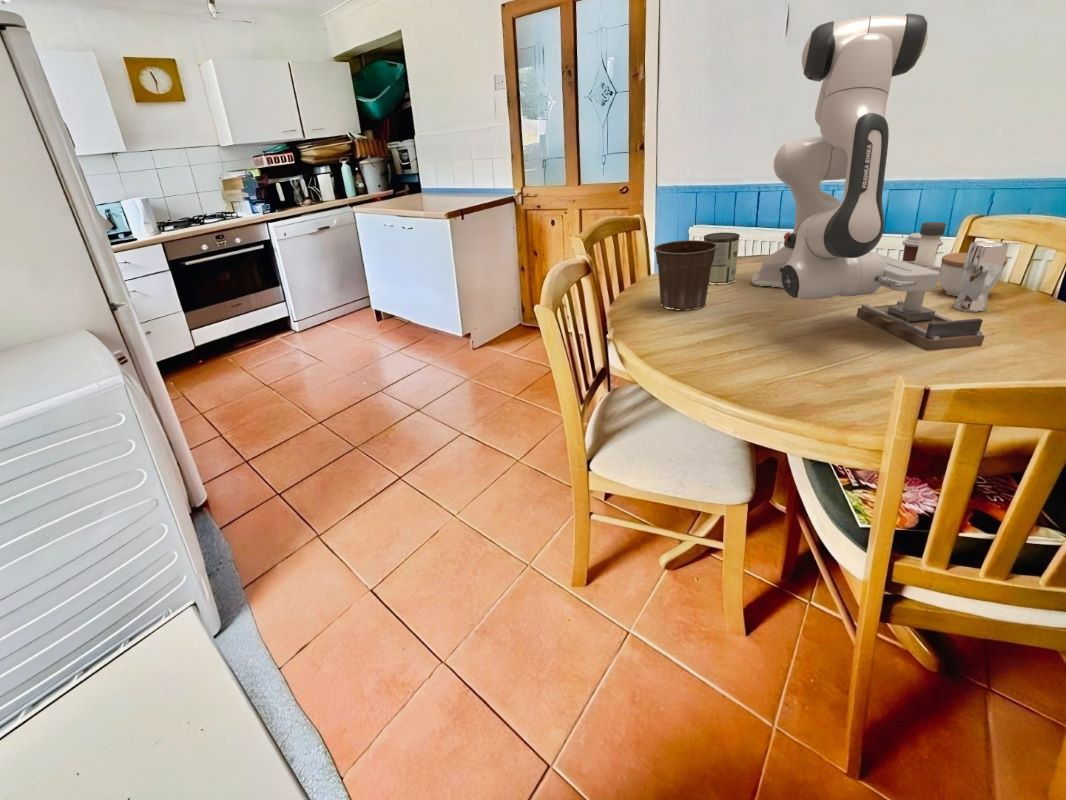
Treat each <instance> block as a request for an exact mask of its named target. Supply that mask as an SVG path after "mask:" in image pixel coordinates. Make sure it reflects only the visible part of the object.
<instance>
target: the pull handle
mask: <svg viewBox="0 0 1066 800" xmlns="http://www.w3.org/2000/svg"><path fill="white" fill-rule="evenodd" d="M946 227H947V223H946V222H940V221H929V222H927V221H925V222H923V223H921V227H920V231H919V233H920V234H921V239H920V243H919V247H918V251H917V255H916V259H915V263H914V265H918V266H921V267H924V268H925V266H934V263H935V258H936V256H935V255H937V253H936V251H937V252H938V250H937V248H938V244H939V240H940V239H941V237H942V235H944V234H945V230H946ZM938 249H939V248H938ZM926 292H927V291H911V292H906V294H905V299H904V305H896V306H889V308H888V314H890V315H892V316H894V317H897V318H899V319H901V320H903V321H906V322H911V321H921V320H932V319H933V318H934V315H935V314H936V311H935V310H933V309H930V308H928V307H925V306H924V305H923V302H924V299H925V295H926ZM922 305H923V306H922Z"/></svg>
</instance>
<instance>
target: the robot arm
mask: <svg viewBox="0 0 1066 800" xmlns="http://www.w3.org/2000/svg"><path fill="white" fill-rule="evenodd" d="M928 36H929V35H928V21H927V20H926V17H925V16H924V15H921V14H916V13H906V14H905V15H902V14H901V15H899V14H875V15H869V16H864V17H863V16H862V17H856V18H850V19H844V20H841V21H837V22H834V21H828V22H825V23H822V24H820V25H817V26H816V27H815V28H814V29H813V31H811V33H810V36H809V37H808V38H807V41H806V43H805V44H804V47H803V51H802V53H801V54H802V55H801V65H802V71H803V75H804V77H805V78H806V79H808V80H811V81H814V82H821V81H822V83H821V87H820V91H819V95H818V99H817V104H816V108H815V110H814V111H815V112H814V120H815V122H816V124H817V125H818V127H819V128H820V129H819V130H820V135H821V136H812V137H811V136H809V137H802V138H797V139H793V140H790V141H788V142H785V143H783V144H782V145H781V146H780V147H779V149H778V150H777V152H776V154H775V157H774V158H773V159H774V160H773V170H774V171H773V172H775V175H776V177H777V178H778V179H779V181H781V182H782V183H784V185H786V187H787V188H788V189H789V190H790V191H791V194H792V195H793V199H794V204H795V217H794V224H793V225H794V226H793V232H789V231H788V232H785V234H784V235H783V239H784V242H783V247H781V248H779V249H778V250H776V251H775V252H774V253H772V254H770V255H769V256H767V257H766V258H765V259H764V260H763V262H762V263H761V266H760V269H759V272H757V273H755V274H753V275H752V276H751V278H750V283H751V282H752V283H753V284H755V285H763V286H773V287H772V288H774V287H783V288H782V289H784V291H785V292H786V294H788V295H789V296H790V297H791V298H794V299H797V300H823V299H824V300H825V299H831V298H833V297H837V296H840V297H855V296H866V295H867V296H868V295H872V294H874V293H875V292H877V290H879V289H880V288H881V287H885V288H887V289H889V290H893V291H896V292H906V293H907V292H911V291H926V292H929V291H933V290H935V289H936V288H937V286H938V284H939V283H938V282H939V276H940V273H939V268H938V267H937V266H935V265H933V266H925V268H924V267H921V266H918V265H914V263H915V261H912V262H908V261H902V260H900V259H897V258H893V257H889V256H886V255H883V254H879V253H876V252H873V250H874V249H875V247H876V246H877V245H878V244H879V243H880V241H881V239H882V237H883V234H884V230H885V215H884V208H883V193H884V192H883V191H884V183H885V177H886V167H887V158H888V151H889V148H888V147H889V139H890V138H889V135H890V133H889V124H888V121H887V119H886V110H887V103H888V97H889V94H890V88H891V83H892V77H897V76H901V75H904V74H907V73H908V72H909V71H911V69H913V68H914V66H915V65H916V64H917V62H918V60H919V59H920V58H921V56H922V54H923V52H925V51H924V50H925V47H926V45H927V41H928ZM837 180H838V181H839V180H845V181H844V182H845V183H844V189H843V190H844V191H843V197H842V200H841V201H840V200H839V199H838V198H837V197H835V196H834V195H832V194H830V193H827V192H825V191H823V190H822V189H821V183H822V182H824V181H837ZM871 251H872V252H871ZM753 284H752V285H753Z"/></svg>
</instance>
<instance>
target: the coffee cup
mask: <svg viewBox="0 0 1066 800" xmlns="http://www.w3.org/2000/svg"><path fill="white" fill-rule="evenodd" d="M920 239H921V234H920V232H913V233H910V234H909V235H908V237H907V238H906V239H903V240H902V245H903V246H904V247H903V252H902V253H903V255H902V260H901V261H908V262H912V261H915V259H916V255H917V251H918V247H919V243H920ZM943 244H944V241H943V240H942V239H941V238H940V240H939V244H938V248H937V251H936V255H937V254H938V250H939V247H941V246H943ZM936 255H935V257H936Z"/></svg>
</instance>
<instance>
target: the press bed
mask: <svg viewBox="0 0 1066 800" xmlns="http://www.w3.org/2000/svg"><path fill="white" fill-rule="evenodd" d="M904 302H905V300H897V301H896V304H887V305H886V304H885V305H877V306H871V305H869V304H866V303H863V304H861V307H858V308H857V312H856V317H858V318H860V319H862V320H864V321H866V322H869V323H870V324H872V325H874V326H876V327H879V328H880V329H883V330H884V331H886V332H889V333H891V334H893V335H895V336H897V337H898V338H901V339H903V340H905V341H907V342H909V343H912V344H913V345H916V346H918V347H920V348H921V349H923V350H925V351H933V350H934V351H935V350H944V349H954V347H956V348H964V346H966V347H974V346H973V345H977V346H982V345H983V342H984V339H985V337H986V335H985V334H983V331H981V327H982V325H983V319H982V318H970V319H969V318H968V319H959V320H952V319H950V318H947V317H945V316H942V315H940V314H937V313H935V315H934V318H933V319H932V320H921V321H911V322H906V321H903V320H901V319H899V318H897V317H894V316H892V315H890V314H888V308H889V306H896V305H904Z"/></svg>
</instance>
